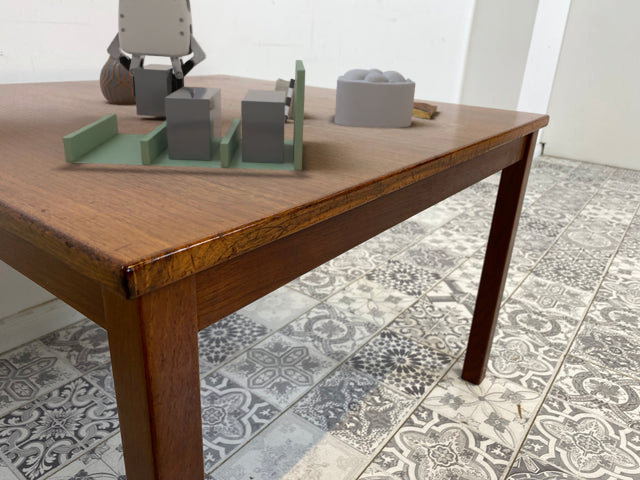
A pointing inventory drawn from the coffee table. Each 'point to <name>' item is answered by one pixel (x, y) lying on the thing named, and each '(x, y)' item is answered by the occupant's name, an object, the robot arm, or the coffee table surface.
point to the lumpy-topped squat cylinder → (374, 99)
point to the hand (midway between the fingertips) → (159, 102)
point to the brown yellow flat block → (423, 110)
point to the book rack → (152, 149)
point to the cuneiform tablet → (287, 96)
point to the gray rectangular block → (152, 88)
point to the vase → (116, 83)
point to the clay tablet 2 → (263, 126)
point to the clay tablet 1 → (193, 123)
